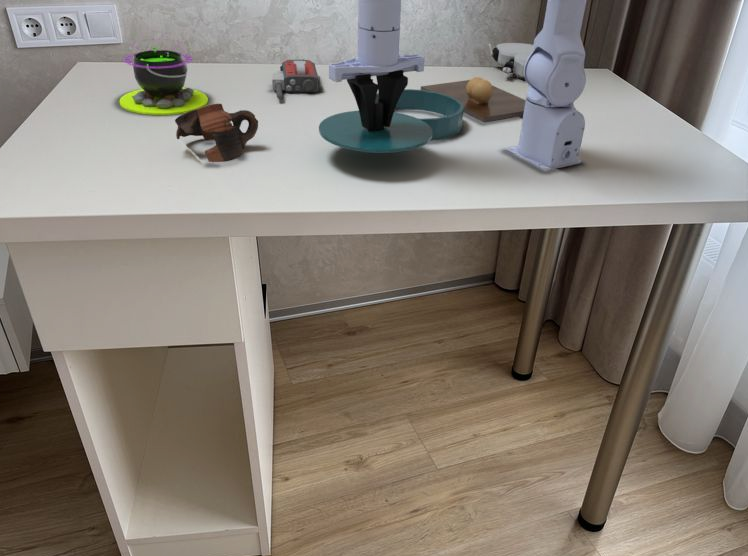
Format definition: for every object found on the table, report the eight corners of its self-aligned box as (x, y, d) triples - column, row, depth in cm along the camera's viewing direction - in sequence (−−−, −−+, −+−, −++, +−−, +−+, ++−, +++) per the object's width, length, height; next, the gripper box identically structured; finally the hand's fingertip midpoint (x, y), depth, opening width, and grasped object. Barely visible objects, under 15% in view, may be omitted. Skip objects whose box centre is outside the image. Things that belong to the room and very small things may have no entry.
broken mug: (192, 173, 100) (167, 116, 97) (193, 177, 108) (170, 125, 106) (270, 144, 102) (248, 88, 100) (265, 151, 111) (244, 100, 109)
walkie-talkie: (271, 74, 140) (274, 105, 124) (270, 50, 137) (272, 80, 122) (315, 74, 142) (323, 105, 126) (314, 51, 139) (322, 80, 123)
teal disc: (454, 145, 101) (457, 110, 98) (354, 164, 94) (354, 127, 91) (393, 111, 113) (394, 79, 110) (299, 126, 105) (298, 91, 102)
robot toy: (555, 86, 147) (538, 62, 158) (560, 64, 144) (542, 41, 155) (499, 85, 146) (485, 60, 157) (502, 63, 143) (488, 39, 154)
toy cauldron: (188, 119, 116) (179, 49, 110) (103, 109, 118) (89, 40, 111) (220, 93, 128) (214, 29, 122) (143, 85, 130) (133, 21, 123)
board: (542, 114, 129) (543, 107, 128) (483, 124, 122) (484, 117, 122) (476, 84, 142) (477, 78, 141) (420, 92, 136) (420, 86, 135)
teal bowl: (479, 135, 118) (482, 111, 116) (399, 149, 110) (401, 124, 108) (426, 106, 129) (428, 85, 126) (350, 118, 121) (350, 95, 119)
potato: (496, 104, 128) (499, 81, 126) (478, 106, 127) (481, 84, 124) (477, 95, 132) (480, 73, 130) (460, 97, 130) (463, 75, 128)
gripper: (407, 17, 100) (402, 111, 108) (317, 24, 94) (319, 124, 102) (435, 27, 96) (428, 125, 104) (342, 36, 89) (342, 140, 97)
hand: (376, 126), depth 102 cm, fingers closed on teal disc, 2 cm apart
